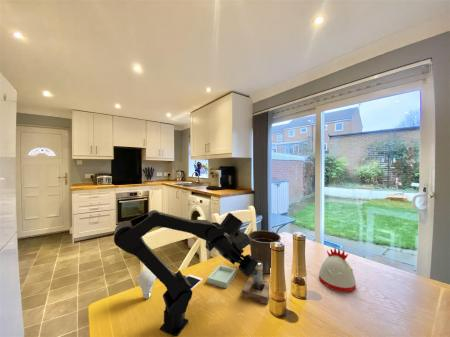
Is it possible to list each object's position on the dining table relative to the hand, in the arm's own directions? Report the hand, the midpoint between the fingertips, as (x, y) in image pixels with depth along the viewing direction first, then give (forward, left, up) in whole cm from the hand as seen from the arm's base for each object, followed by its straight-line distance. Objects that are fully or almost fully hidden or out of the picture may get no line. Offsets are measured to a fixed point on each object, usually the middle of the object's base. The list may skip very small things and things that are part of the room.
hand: (249, 268), depth 76 cm
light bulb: (-17, +35, -11) cm, 41 cm away
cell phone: (-5, +26, -12) cm, 29 cm away
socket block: (+4, -3, -11) cm, 12 cm away
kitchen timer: (+26, -33, -11) cm, 43 cm away
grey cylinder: (+4, -3, -11) cm, 12 cm away
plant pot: (+24, -1, -11) cm, 26 cm away
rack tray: (+7, +14, -11) cm, 19 cm away
